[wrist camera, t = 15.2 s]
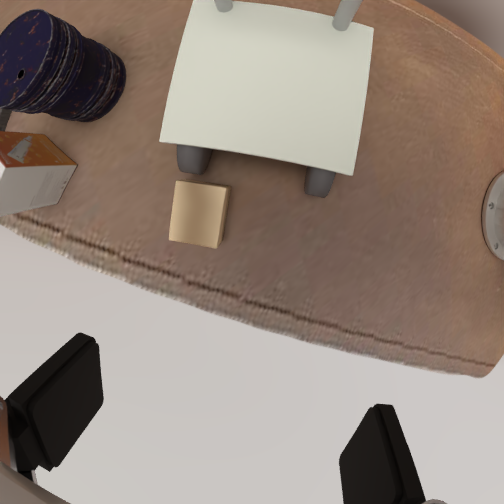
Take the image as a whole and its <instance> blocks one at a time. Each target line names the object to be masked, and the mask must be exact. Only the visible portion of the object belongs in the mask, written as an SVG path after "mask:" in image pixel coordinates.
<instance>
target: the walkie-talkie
mask: <svg viewBox="0 0 504 504" xmlns="http://www.w3.org/2000/svg"><path fill="white" fill-rule="evenodd" d="M11 113H12V111H11V110H8V109H0V131H5V128H6V126H7V123H8V120H9V117H10V114H11Z"/></svg>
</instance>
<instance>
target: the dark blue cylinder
mask: <svg viewBox="0 0 504 504" xmlns="http://www.w3.org/2000/svg"><path fill="white" fill-rule="evenodd" d="M125 82H126V70H125V66H124V63H123V62H122V60H121V59H120V58H119V57H118V56H117V55H116V54H114V53H113V52H111V51H110V49H108V48H107V47H105V46H104V45H102V44H100V43H97V42H96V41H94V40H92V39H89V38H85V37H84V36H82V35H81V33H80V32H79V31H78V30H77V29H76V28H75V27H74V26H72V25H70V24H69V23H67V22H65V21H64V20H62V19H60V18H57V17H55V16H53V15H51V14H49V13H48V12H46V11H44V10H42V9H33V10H29V11H27V12H25V13H23V14H21V15H20V16H18V17H17V18H16V19H14V20H13V21H12V22H11V23H10V24H9V25H8V26H7V27H6V28H5V29H4V30H3V32H2V33H1V34H0V109H8V110H11V111H15V112H25V113H28V114H34V113H41V112H43V113H48V114H50V115H51V116H54V117H58V118H61V119H65V120H71V121H80V122H91V121H94V120H97V119H99V118H101V117H103V116H104V115H106V114H107V113H108V112H109V111H110V110H111V109H112V108H113V107H114V106H115V104H116V103H117V102H118V100H119V98H120V97H121V95H122V92H123V90H124V86H125Z"/></svg>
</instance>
